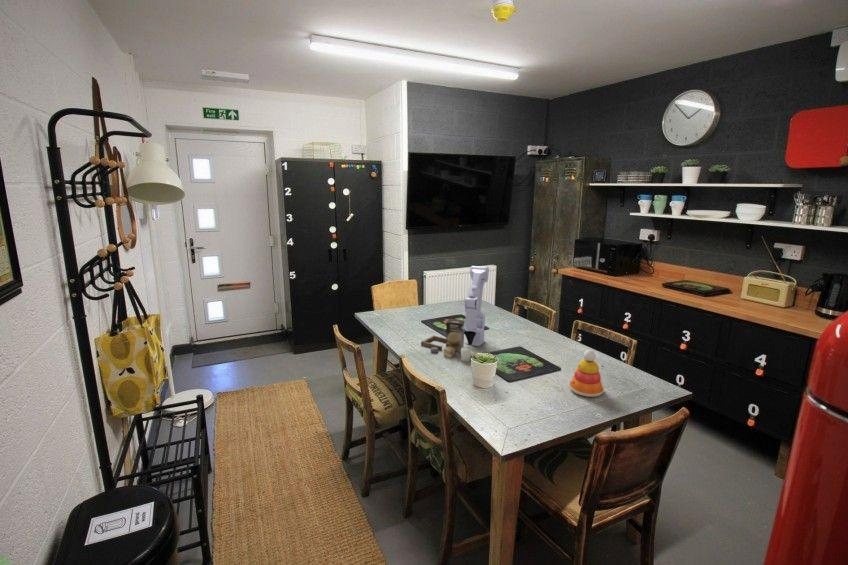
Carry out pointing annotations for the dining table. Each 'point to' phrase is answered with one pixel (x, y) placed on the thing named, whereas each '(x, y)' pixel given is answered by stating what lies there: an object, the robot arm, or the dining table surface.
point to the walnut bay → (427, 344)
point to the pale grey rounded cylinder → (465, 354)
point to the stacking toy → (587, 377)
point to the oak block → (449, 351)
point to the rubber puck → (434, 350)
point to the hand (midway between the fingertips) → (470, 344)
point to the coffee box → (455, 334)
